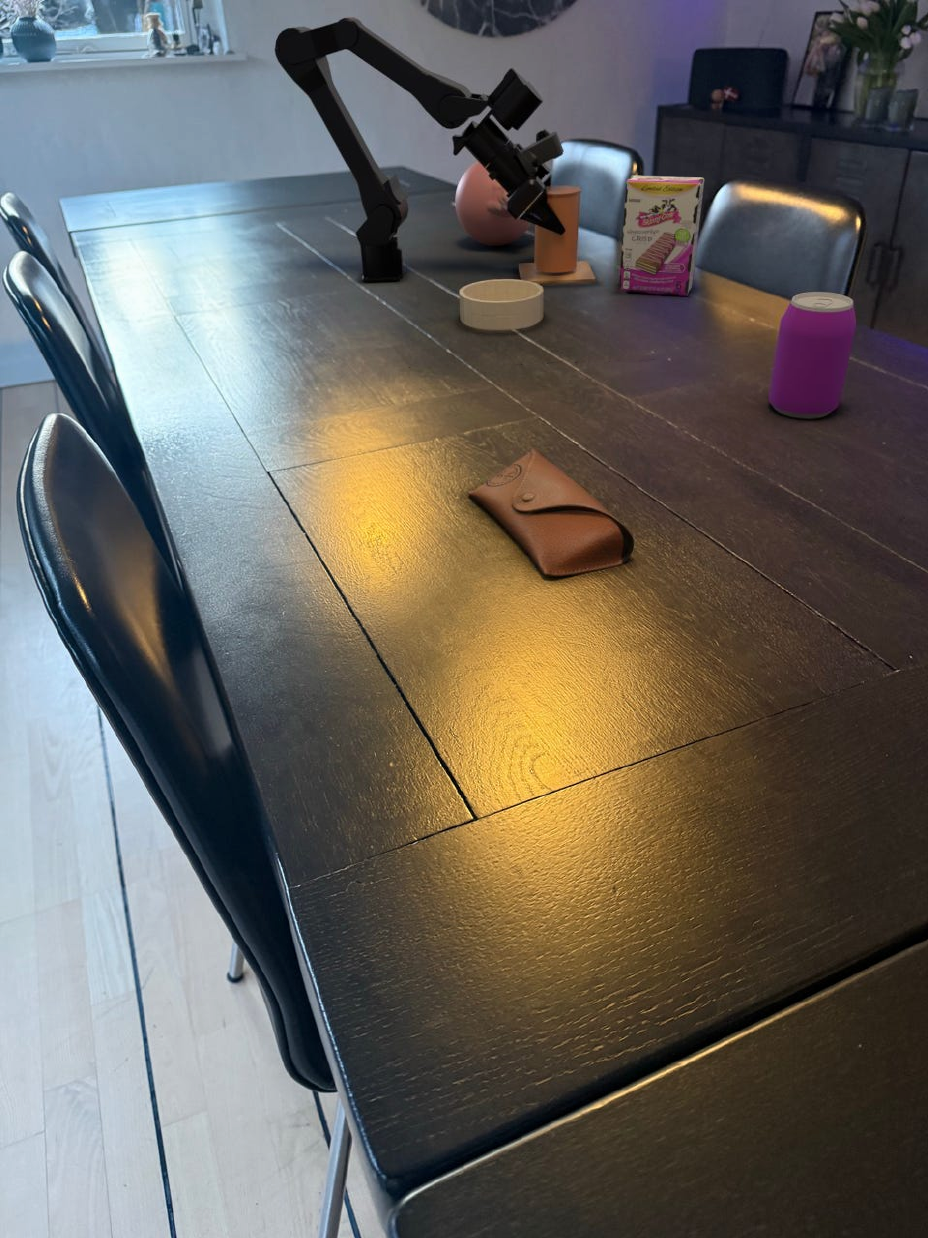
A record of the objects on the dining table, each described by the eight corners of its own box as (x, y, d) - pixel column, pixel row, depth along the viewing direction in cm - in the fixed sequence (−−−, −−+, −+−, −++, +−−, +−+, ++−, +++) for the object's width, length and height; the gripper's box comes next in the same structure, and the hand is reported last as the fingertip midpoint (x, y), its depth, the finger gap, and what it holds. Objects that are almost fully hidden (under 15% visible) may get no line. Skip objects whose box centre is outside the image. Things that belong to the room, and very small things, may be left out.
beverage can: (828, 425, 97) (851, 314, 91) (758, 413, 101) (775, 305, 94) (845, 402, 103) (868, 294, 96) (778, 391, 106) (795, 286, 99)
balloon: (468, 262, 162) (465, 169, 154) (451, 239, 179) (447, 153, 170) (550, 256, 164) (552, 163, 155) (526, 233, 180) (526, 148, 172)
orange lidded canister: (559, 275, 147) (561, 195, 140) (524, 268, 151) (525, 190, 145) (586, 265, 152) (590, 188, 145) (552, 259, 156) (554, 183, 149)
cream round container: (460, 335, 128) (459, 303, 125) (460, 310, 138) (459, 280, 135) (545, 332, 128) (546, 300, 125) (540, 307, 138) (540, 277, 135)
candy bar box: (617, 293, 143) (624, 180, 133) (623, 285, 146) (630, 174, 137) (689, 297, 139) (701, 181, 130) (693, 288, 143) (705, 175, 134)
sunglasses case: (460, 490, 87) (491, 428, 85) (516, 510, 91) (547, 450, 88) (547, 579, 73) (586, 508, 71) (608, 598, 77) (648, 531, 75)
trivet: (522, 287, 148) (522, 281, 147) (518, 269, 157) (519, 263, 157) (595, 284, 147) (595, 278, 147) (587, 266, 157) (587, 260, 157)
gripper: (529, 119, 131) (601, 200, 136) (537, 106, 146) (602, 179, 151) (477, 179, 137) (548, 255, 142) (490, 160, 152) (554, 229, 157)
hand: (564, 227), depth 148 cm, fingers closed on orange lidded canister, 7 cm apart
